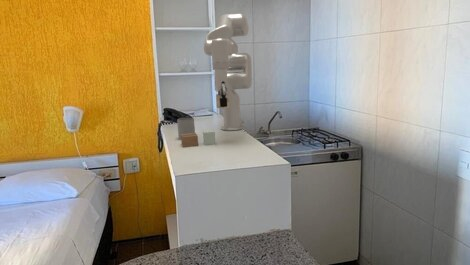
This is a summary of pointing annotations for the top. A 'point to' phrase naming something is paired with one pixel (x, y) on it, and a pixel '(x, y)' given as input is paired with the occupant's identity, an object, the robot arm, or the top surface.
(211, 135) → the sage block
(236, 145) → the top surface
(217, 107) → the maple block
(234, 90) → the robot arm
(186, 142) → the walnut block
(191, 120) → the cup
